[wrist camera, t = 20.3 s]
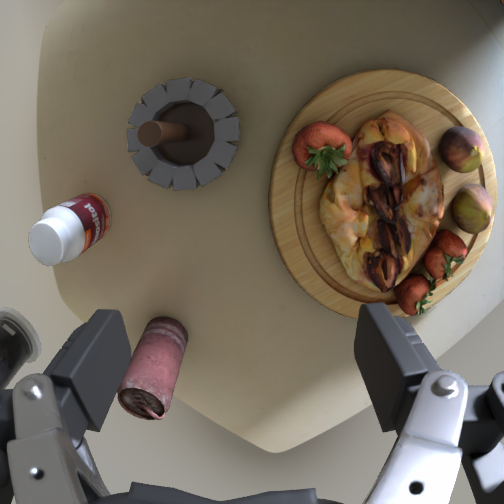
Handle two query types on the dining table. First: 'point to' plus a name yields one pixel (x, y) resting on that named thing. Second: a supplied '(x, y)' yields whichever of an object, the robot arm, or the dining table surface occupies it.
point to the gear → (220, 150)
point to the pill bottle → (69, 229)
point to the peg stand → (180, 133)
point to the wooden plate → (382, 193)
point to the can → (153, 369)
